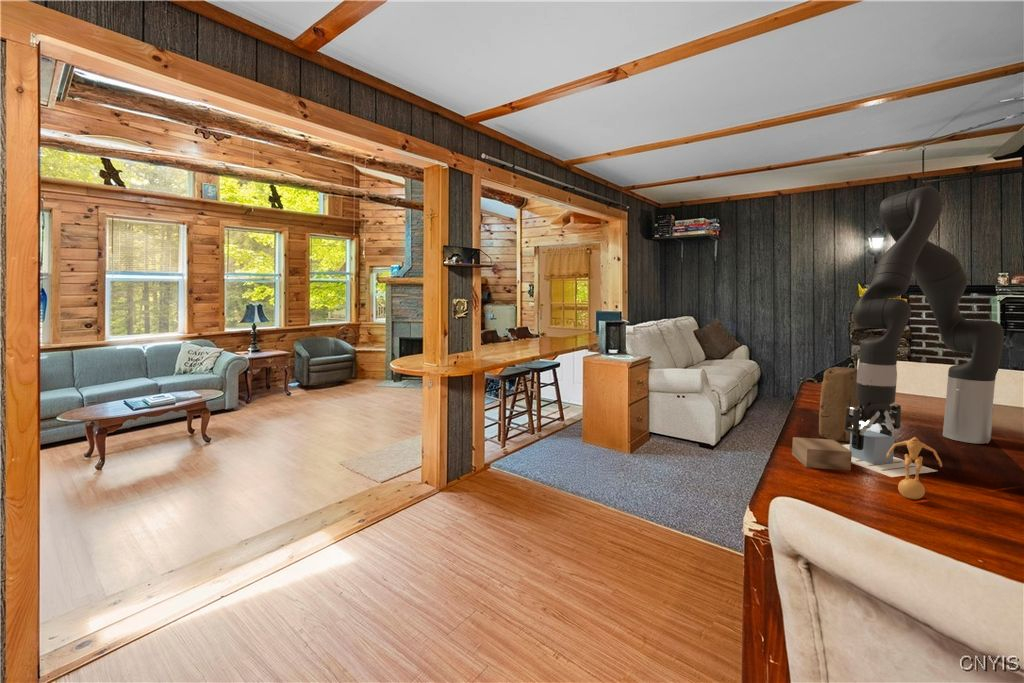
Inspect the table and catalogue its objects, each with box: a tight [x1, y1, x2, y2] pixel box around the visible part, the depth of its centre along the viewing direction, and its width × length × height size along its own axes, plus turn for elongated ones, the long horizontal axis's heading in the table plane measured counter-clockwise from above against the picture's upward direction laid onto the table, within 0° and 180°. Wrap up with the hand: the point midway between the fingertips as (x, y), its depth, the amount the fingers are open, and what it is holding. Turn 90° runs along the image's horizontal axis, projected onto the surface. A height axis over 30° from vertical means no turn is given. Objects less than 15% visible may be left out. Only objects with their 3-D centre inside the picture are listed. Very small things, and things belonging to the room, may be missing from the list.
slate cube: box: [849, 429, 896, 464], centre depth 111 cm, size 6×6×6 cm
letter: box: [841, 443, 938, 478], centre depth 111 cm, size 14×20×1 cm
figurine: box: [886, 436, 943, 500], centre depth 90 cm, size 8×6×12 cm
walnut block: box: [791, 436, 852, 472], centre depth 109 cm, size 9×9×5 cm
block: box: [818, 366, 859, 442], centre depth 128 cm, size 11×8×20 cm
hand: (871, 447), depth 111 cm, fingers open, 8 cm apart
